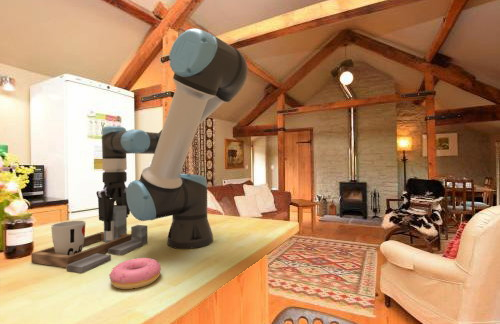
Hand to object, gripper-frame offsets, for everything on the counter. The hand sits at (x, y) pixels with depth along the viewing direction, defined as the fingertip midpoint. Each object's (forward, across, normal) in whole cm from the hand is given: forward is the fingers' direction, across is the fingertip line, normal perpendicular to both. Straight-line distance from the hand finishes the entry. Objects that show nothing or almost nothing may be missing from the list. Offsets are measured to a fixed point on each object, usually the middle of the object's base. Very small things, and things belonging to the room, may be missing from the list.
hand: (115, 238), depth 92 cm
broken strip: (+1, +12, +10) cm, 16 cm away
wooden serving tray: (+1, +11, 0) cm, 11 cm away
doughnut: (+2, +24, +29) cm, 37 cm away
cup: (+1, +17, 0) cm, 17 cm away
